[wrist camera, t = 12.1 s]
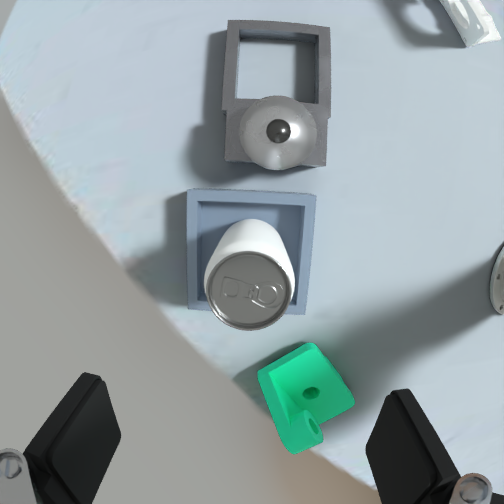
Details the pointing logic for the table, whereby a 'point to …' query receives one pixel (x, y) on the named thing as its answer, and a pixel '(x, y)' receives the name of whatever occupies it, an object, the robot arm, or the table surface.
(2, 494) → the robot arm
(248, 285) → the can
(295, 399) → the camera mount
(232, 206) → the tray
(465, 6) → the mounting bracket
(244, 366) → the table surface
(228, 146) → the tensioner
